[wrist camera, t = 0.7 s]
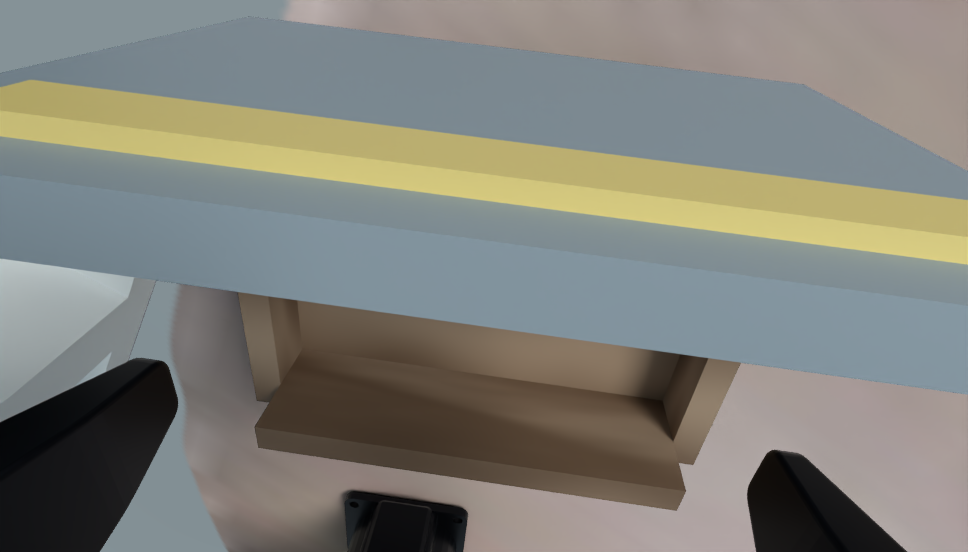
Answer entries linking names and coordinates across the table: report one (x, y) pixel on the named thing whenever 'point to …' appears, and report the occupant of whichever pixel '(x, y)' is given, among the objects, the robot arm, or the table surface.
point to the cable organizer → (62, 328)
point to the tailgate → (497, 194)
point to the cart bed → (480, 400)
